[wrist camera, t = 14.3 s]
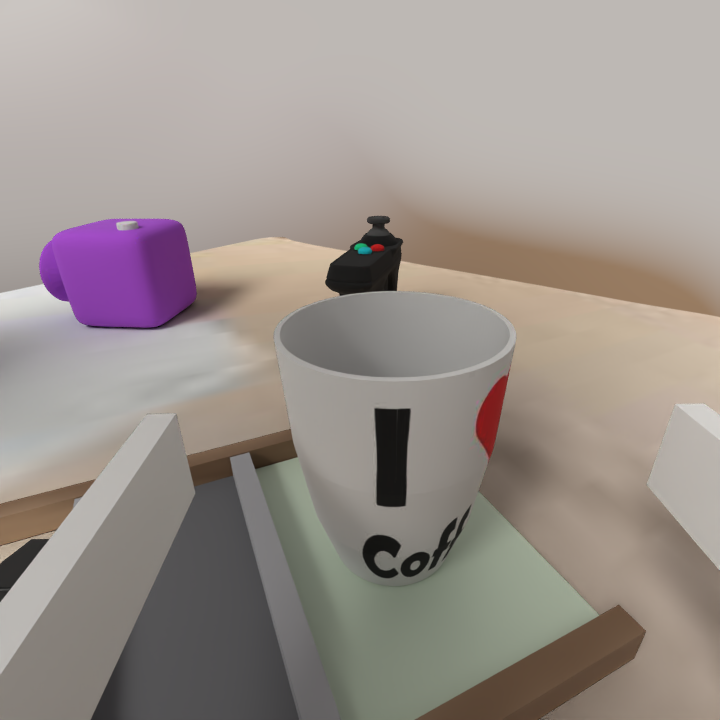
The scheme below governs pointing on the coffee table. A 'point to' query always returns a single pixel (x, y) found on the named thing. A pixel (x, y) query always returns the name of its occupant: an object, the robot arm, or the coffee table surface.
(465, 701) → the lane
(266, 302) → the coffee table surface
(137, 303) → the toy camera
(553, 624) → the pad
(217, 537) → the tray
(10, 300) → the coffee table surface
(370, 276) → the controller
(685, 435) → the robot arm
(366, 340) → the cup
